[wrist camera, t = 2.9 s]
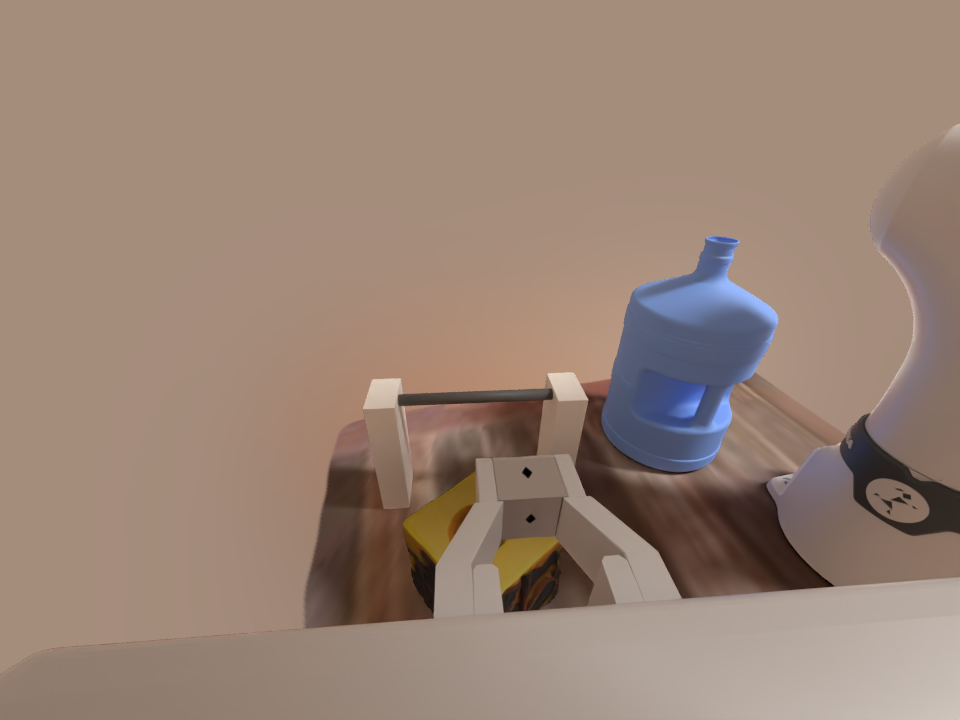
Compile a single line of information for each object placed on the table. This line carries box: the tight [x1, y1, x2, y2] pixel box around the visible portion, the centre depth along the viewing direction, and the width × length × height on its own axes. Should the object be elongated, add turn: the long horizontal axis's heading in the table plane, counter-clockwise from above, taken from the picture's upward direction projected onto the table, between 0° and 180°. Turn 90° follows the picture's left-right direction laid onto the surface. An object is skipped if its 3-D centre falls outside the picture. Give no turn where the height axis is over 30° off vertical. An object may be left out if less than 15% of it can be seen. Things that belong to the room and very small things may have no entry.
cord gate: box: [363, 372, 588, 509], centre depth 41 cm, size 22×5×15 cm, turn 94°
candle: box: [403, 471, 563, 614], centre depth 32 cm, size 10×10×10 cm
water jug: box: [601, 236, 778, 472], centre depth 46 cm, size 16×16×28 cm
